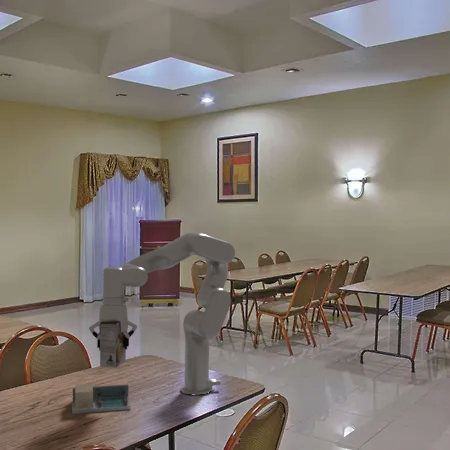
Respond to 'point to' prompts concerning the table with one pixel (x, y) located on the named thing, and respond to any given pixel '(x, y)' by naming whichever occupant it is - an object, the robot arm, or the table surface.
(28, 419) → the table surface
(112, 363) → the coffee box
